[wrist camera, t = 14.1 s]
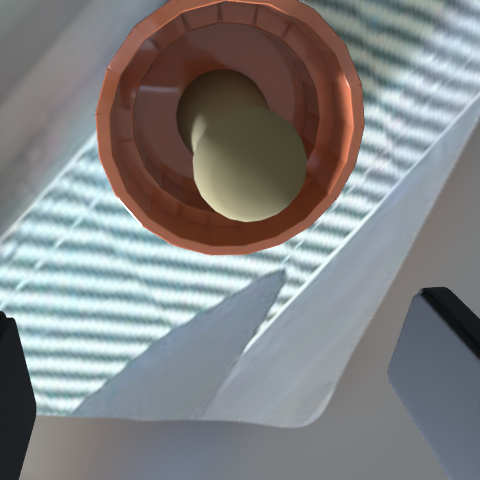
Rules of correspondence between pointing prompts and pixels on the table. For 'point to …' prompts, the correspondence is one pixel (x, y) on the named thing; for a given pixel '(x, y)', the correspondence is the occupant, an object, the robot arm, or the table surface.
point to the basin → (269, 82)
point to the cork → (239, 147)
